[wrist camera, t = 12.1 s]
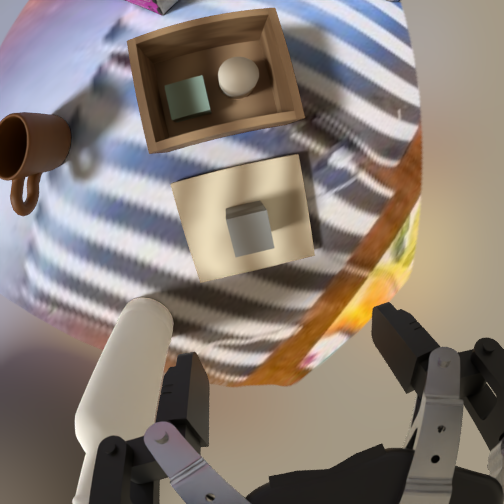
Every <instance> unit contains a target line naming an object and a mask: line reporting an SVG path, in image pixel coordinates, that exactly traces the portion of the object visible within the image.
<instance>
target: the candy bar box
mask: <svg viewBox="0 0 504 504" xmlns="http://www.w3.org/2000/svg"><path fill="white" fill-rule="evenodd" d="M125 1H128V2H131V3H133V4H136V5H139V6H141V7H144V8H146V9H148V10H151V11H153V12H155V13H158V14H160V15H164V14H165V13H166V12H167V11H168V10H169V9H170V8H171V7H172V6H173V5H174V4H175V3H176V2H178V1H179V0H125Z"/></svg>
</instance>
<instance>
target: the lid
mask: <svg viewBox="0 0 504 504" xmlns="http://www.w3.org/2000/svg"><path fill="white" fill-rule="evenodd" d="M171 188H172V191H173V195H174V198H175V202H176V205H177V209H178V212H179V216H180V219H181V223H182V226H183V229H184V233H185V236H186V239H187V242H188V246H189V249H190V252H191V255H192V258H193V261H194V264H195V267H196V271H197V274H198V277H199V280H200V283H202V282H207V281H211V280H215V279H220V278H224V277H228V276H233V275H237V274H241V273H245V272H250V271H254V270H258V269H262V268H266V267H270V266H275V265H279V264H283V263H287V262H291V261H295V260H299V259H303V258H307V257H311V256H315V254H314V247H313V239H312V232H311V226H310V219H309V212H308V206H307V200H306V194H305V188H304V182H303V177H302V171H301V166H300V160H299V155H298V154H293V155H288V156H282V157H277V158H272V159H267V160H262V161H257V162H253V163H248V164H243V165H239V166H235V167H230V168H226V169H222V170H218V171H214V172H210V173H206V174H202V175H199V176H195V177H191V178H187V179H184V180H180V181H177V182H173V183H171Z"/></svg>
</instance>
